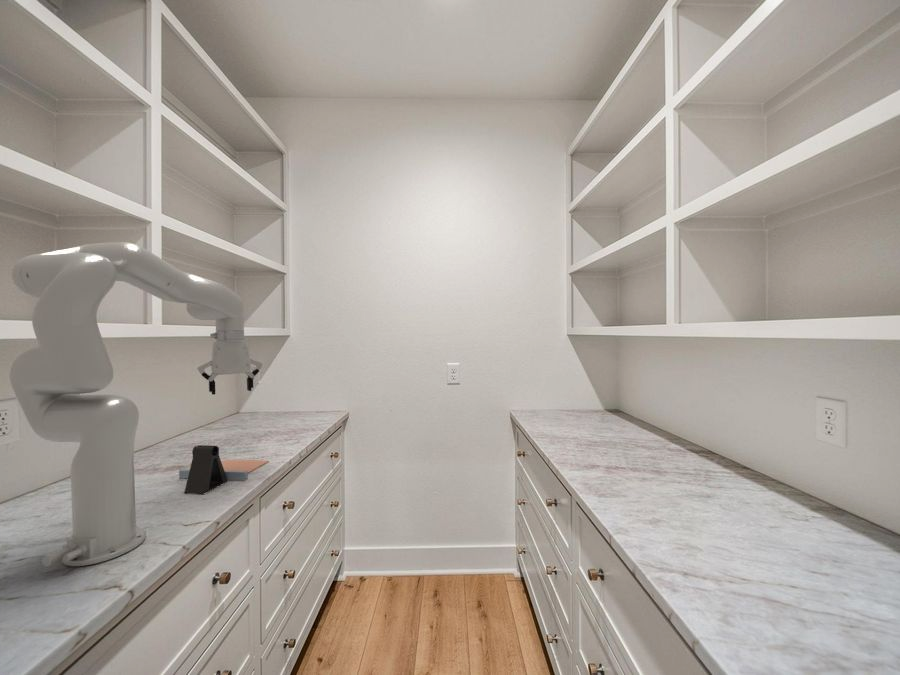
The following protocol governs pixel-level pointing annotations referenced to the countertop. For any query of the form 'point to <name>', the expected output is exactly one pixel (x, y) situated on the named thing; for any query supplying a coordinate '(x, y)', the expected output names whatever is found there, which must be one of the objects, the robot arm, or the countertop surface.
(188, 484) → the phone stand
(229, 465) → the mat
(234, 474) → the acrylic wall
